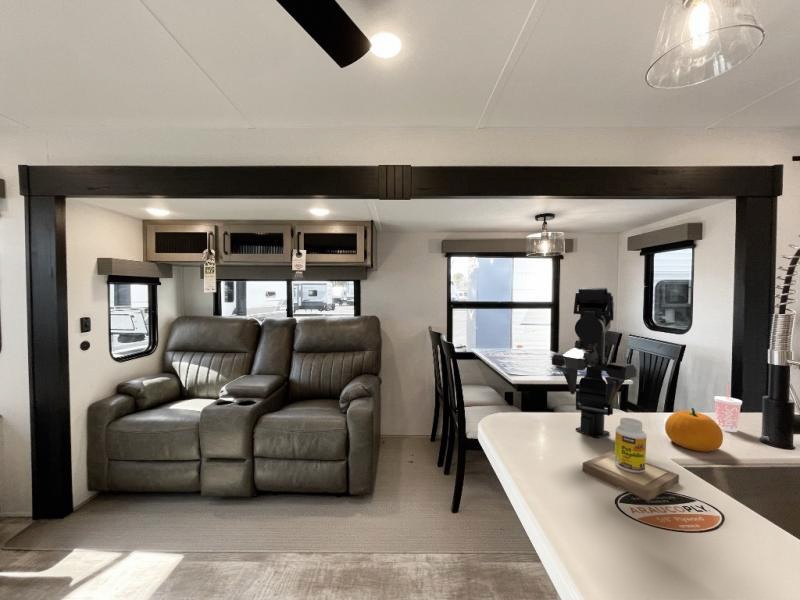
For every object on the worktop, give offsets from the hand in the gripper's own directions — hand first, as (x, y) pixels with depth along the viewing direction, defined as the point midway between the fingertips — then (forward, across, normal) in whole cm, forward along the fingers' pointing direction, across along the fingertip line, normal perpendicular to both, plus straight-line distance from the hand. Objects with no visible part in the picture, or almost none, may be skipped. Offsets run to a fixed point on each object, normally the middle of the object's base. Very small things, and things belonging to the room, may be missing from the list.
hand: (589, 398), depth 88 cm
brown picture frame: (+13, +12, -5) cm, 18 cm away
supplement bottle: (+11, +12, -5) cm, 17 cm away
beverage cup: (+13, +12, +51) cm, 54 cm away
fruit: (+13, +12, +27) cm, 32 cm away
